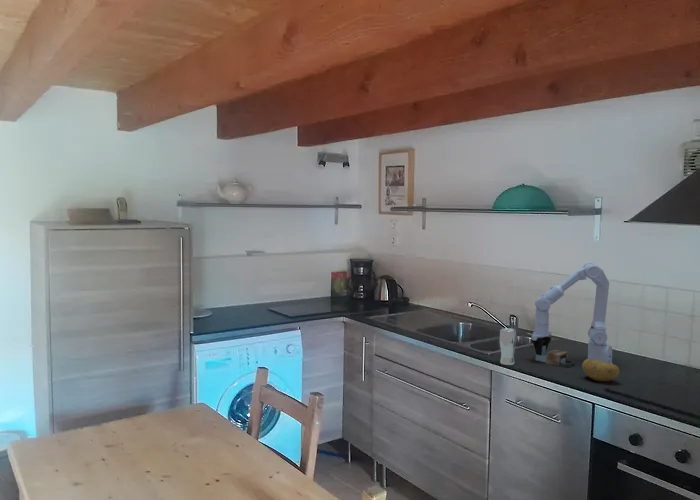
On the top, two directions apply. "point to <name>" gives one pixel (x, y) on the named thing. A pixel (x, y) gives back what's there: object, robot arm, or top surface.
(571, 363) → the pit
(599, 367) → the potato
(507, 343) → the beer glass
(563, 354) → the tunnel
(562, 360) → the blue l-shaped block
